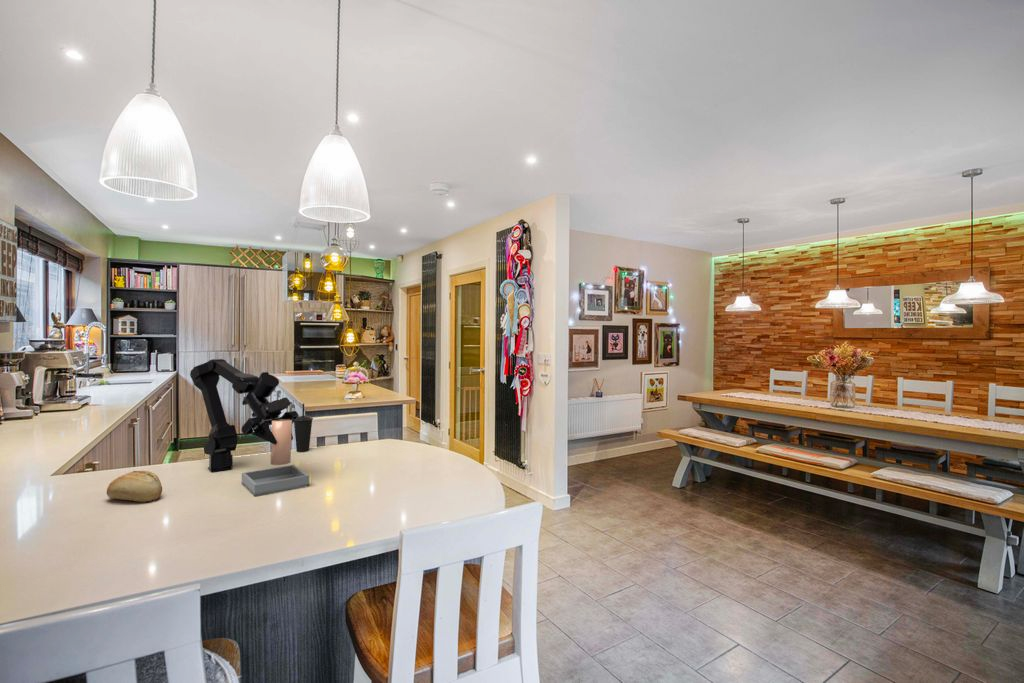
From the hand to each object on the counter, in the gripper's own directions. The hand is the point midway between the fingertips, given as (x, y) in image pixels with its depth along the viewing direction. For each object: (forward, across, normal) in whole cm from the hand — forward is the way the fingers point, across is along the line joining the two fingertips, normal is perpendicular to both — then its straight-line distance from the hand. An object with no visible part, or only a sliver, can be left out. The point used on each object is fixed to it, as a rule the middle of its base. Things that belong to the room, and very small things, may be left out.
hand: (284, 441), depth 157 cm
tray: (+9, -3, +10) cm, 14 cm away
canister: (+4, 0, +6) cm, 7 cm away
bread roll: (-8, -30, +28) cm, 42 cm away
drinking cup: (-10, +35, +29) cm, 47 cm away
